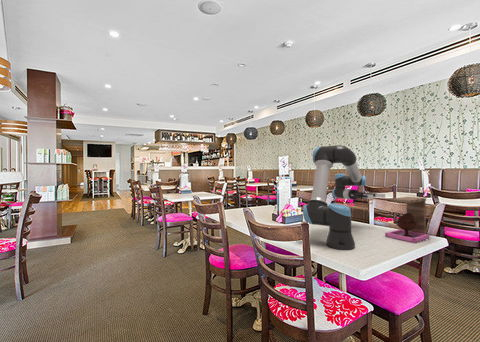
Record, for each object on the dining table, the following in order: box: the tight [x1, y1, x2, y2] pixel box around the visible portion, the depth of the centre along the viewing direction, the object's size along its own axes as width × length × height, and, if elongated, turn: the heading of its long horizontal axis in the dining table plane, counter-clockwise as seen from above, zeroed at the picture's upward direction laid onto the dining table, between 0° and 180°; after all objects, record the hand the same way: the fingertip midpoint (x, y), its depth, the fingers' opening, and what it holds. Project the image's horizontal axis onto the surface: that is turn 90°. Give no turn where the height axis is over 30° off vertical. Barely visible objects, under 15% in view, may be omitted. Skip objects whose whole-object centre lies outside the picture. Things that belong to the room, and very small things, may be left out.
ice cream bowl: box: [395, 212, 417, 238], centre depth 151 cm, size 11×11×15 cm
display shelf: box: [390, 196, 427, 234], centre depth 151 cm, size 20×11×24 cm, turn 119°
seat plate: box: [384, 228, 431, 244], centre depth 151 cm, size 17×17×2 cm
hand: (379, 196), depth 162 cm, fingers open, 13 cm apart
